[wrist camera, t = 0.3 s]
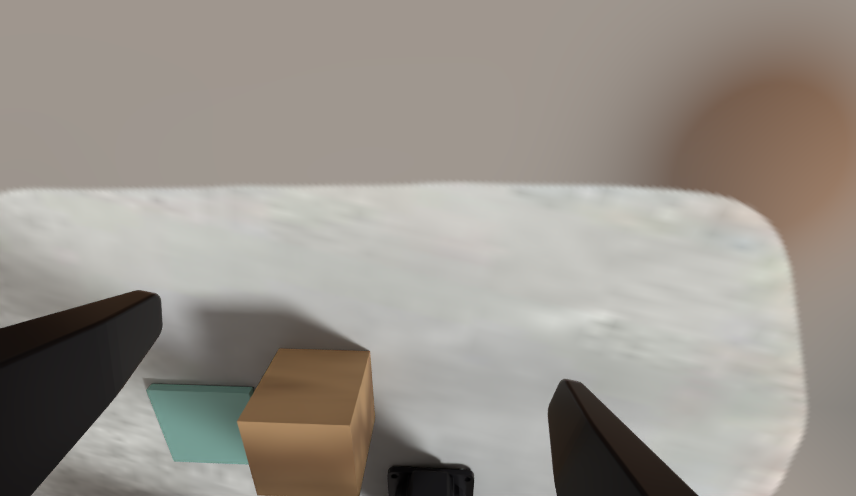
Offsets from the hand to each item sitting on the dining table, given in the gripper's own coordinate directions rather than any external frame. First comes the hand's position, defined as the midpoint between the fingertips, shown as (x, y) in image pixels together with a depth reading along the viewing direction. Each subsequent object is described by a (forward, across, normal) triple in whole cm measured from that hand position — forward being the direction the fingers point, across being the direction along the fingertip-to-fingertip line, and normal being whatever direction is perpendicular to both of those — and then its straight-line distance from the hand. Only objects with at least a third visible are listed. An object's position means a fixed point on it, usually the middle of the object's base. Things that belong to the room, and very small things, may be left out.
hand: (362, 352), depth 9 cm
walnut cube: (+14, +3, +15) cm, 21 cm away
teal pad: (+14, +11, +21) cm, 27 cm away
